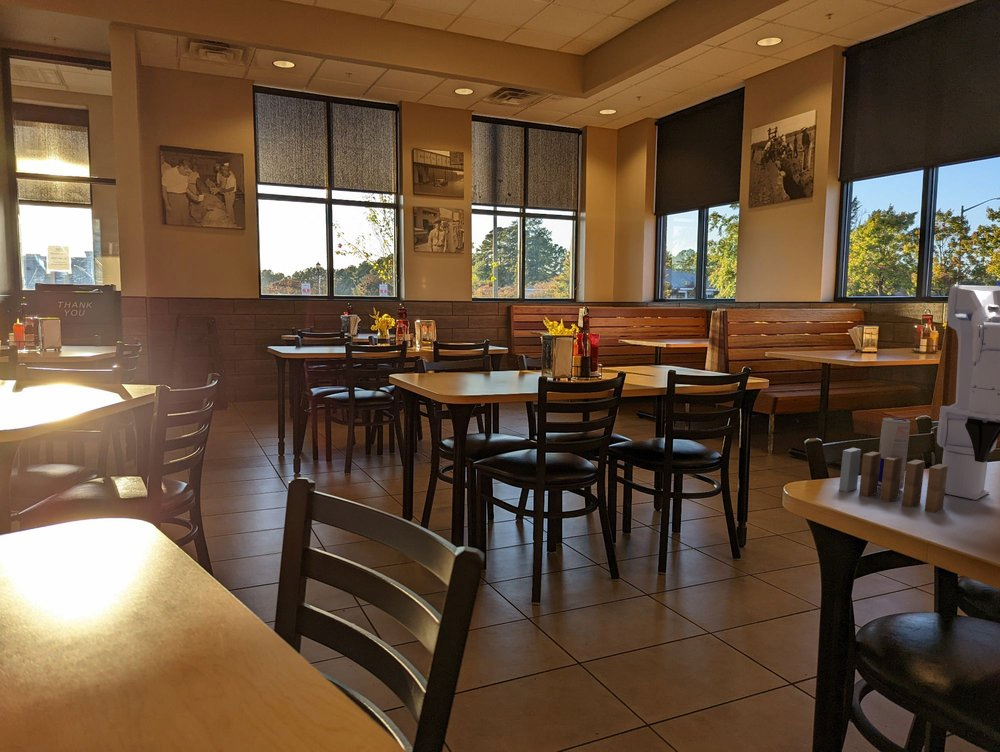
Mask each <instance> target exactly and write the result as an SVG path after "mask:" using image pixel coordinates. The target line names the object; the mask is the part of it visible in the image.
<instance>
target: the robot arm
mask: <svg viewBox="0 0 1000 752" xmlns="http://www.w3.org/2000/svg"><path fill="white" fill-rule="evenodd" d="M946 321H947V326H948V327H950V328H951V329H953V330H955V331H956V336H957V343H958V345H957V346H958V347H957V360H956V361H957V363H956V364H957V365H956V366H957V367H956V383H955V384H956V385H955V387H956V388H955V403H953V404H951V405H949V406H948V405H942V406H940V407H939V415H938V416H939V418H938V423H937V430H936V443H937V445H938V446H939V447H941V448H942V449H943V452H942V461H941V462H942V463H941V464H942V465H947V466H948V471H947V479H946V487H945V494H947V495H951V496H954V497H955V496H956V497H960V498H965V499H970V500H973V501H974V500H975V501H976V500H978V499H980V498H981V497H984V496H986V495H987V494H989V493H990V490H989V489H988V490H987V489H985V485H986V475H987V471H988V458H989V455H990V453H992V452H993V451H994V450H995V449H996V447H997V444H998V438H999V437H1000V285H967V284H966V285H964V284H960V285H959V284H957V283H956V284H955V283H954V284H953V285H951V287H950V289H949V292H948V298H947V314H946Z"/></svg>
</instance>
